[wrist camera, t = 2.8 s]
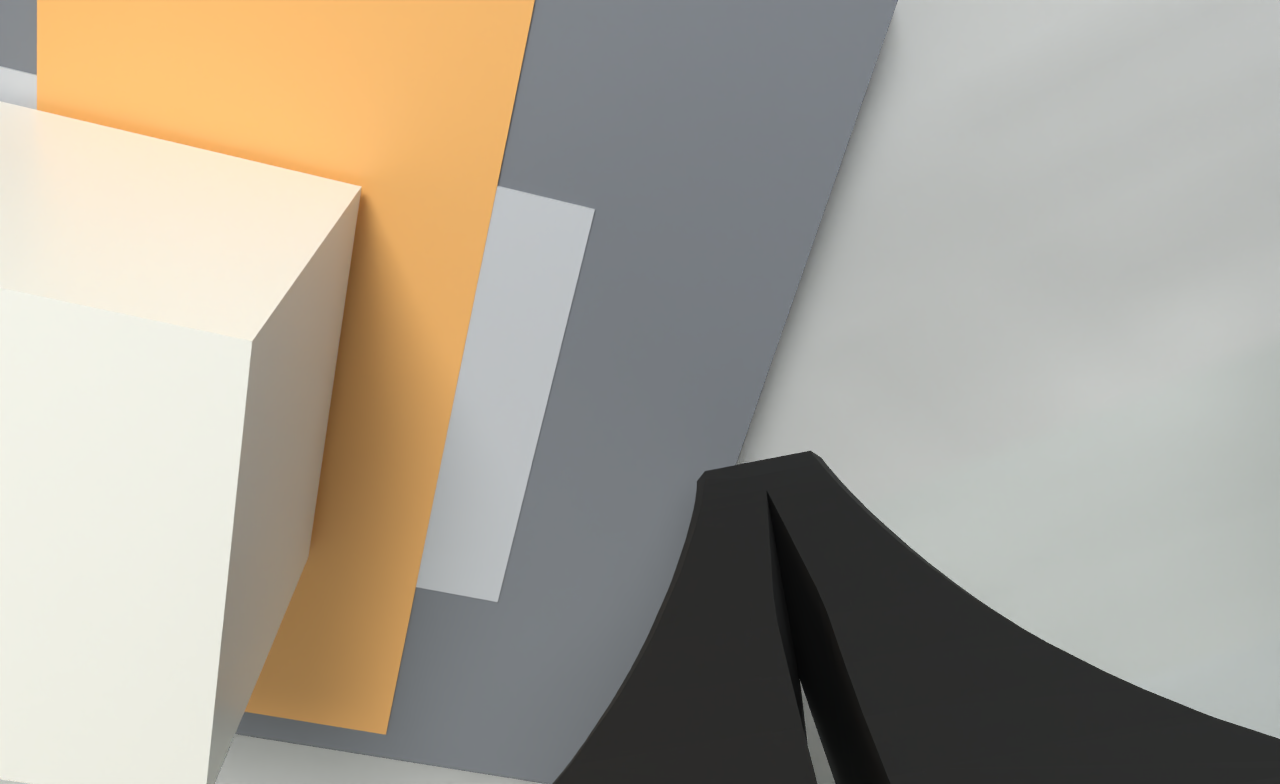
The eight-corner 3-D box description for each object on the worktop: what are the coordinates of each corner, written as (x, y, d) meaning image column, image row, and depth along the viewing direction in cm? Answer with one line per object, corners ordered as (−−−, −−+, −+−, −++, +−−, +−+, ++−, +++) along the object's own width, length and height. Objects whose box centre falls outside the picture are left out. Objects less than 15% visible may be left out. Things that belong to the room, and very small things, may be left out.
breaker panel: (884, -39, 12) (909, -30, 11) (619, 745, 17) (620, 797, 16) (-945, -564, 9) (-1115, -609, 8) (-591, 543, 14) (-673, 591, 14)
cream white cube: (362, 186, 11) (252, 340, 8) (308, 556, 14) (203, 809, 10) (-33, 94, 11) (-345, 215, 7) (-22, 495, 13) (-258, 741, 9)
